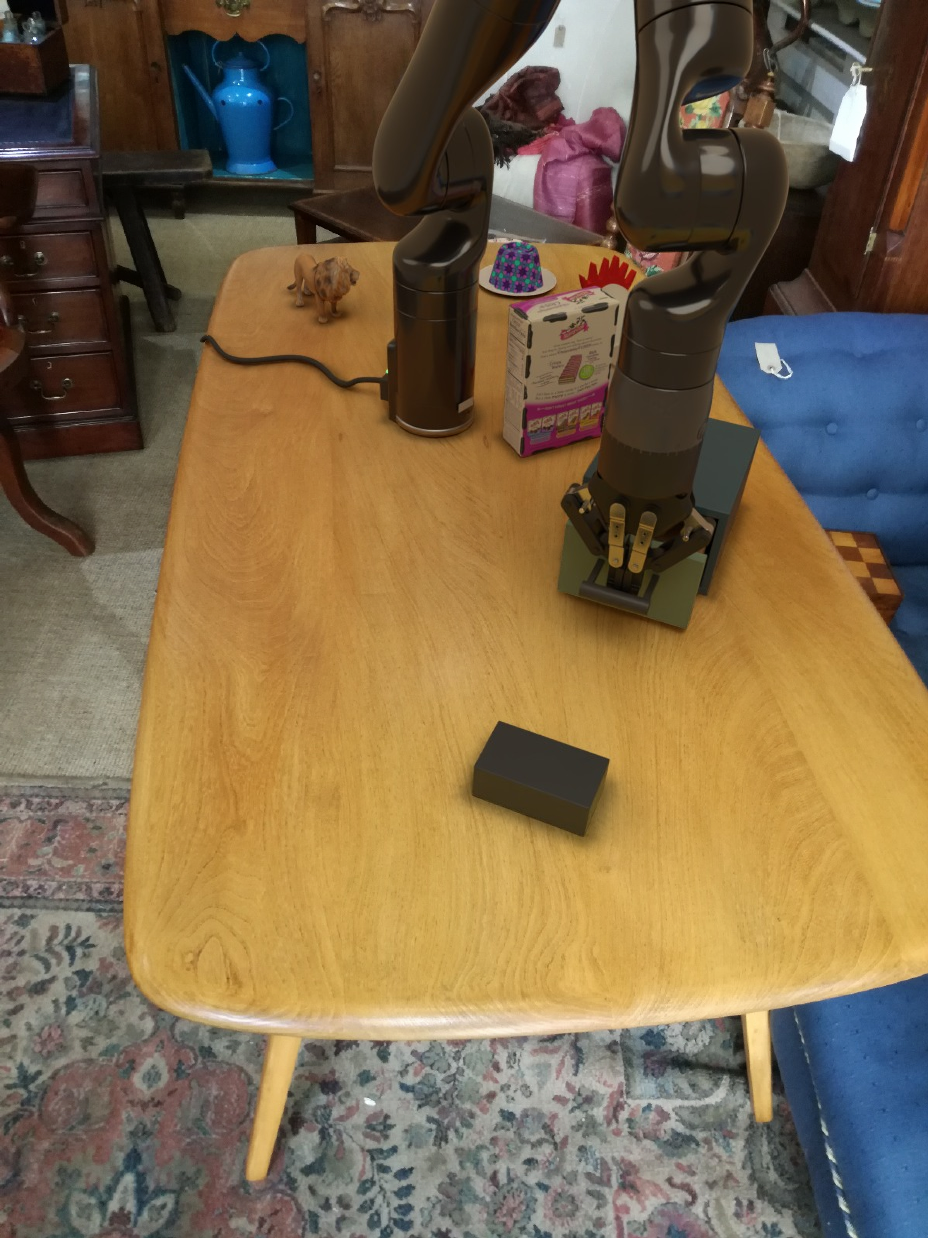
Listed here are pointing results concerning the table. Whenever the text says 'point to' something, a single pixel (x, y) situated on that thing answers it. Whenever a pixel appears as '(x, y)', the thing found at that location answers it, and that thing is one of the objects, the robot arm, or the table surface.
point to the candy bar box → (558, 369)
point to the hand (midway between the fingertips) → (621, 595)
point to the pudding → (517, 271)
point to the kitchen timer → (611, 292)
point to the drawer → (659, 592)
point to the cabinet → (717, 482)
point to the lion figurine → (323, 281)
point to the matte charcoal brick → (540, 777)
